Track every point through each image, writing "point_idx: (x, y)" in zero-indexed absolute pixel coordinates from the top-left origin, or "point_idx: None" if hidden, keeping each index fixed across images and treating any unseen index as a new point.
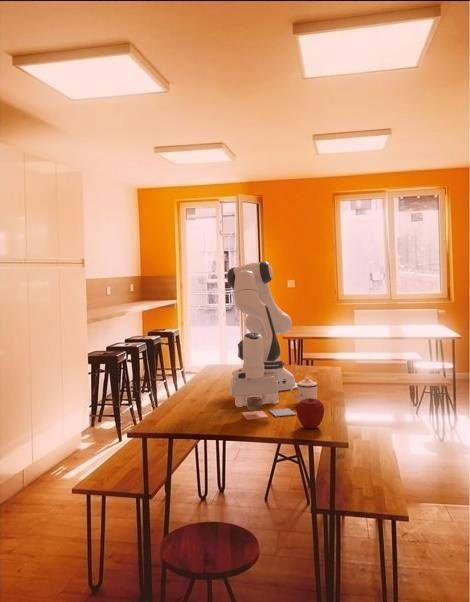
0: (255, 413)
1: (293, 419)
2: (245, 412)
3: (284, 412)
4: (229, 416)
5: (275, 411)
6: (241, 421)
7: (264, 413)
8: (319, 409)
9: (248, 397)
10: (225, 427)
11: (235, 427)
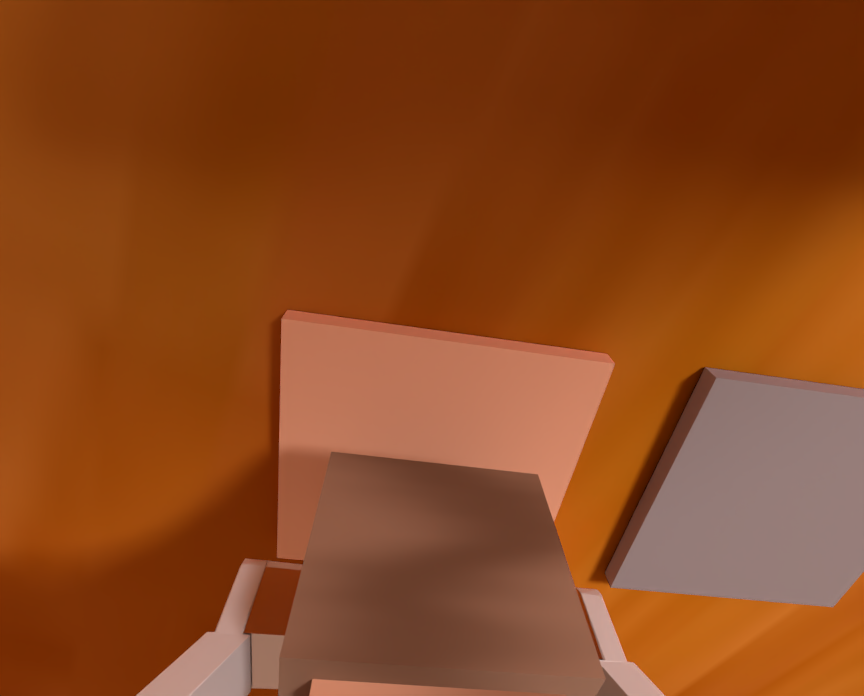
0: (455, 439)
1: (698, 661)
2: (338, 341)
3: (788, 534)
4: (69, 343)
5: (739, 463)
6: (202, 560)
7: (560, 481)
8: None
9: (307, 692)
10: (6, 641)
11: (109, 664)
